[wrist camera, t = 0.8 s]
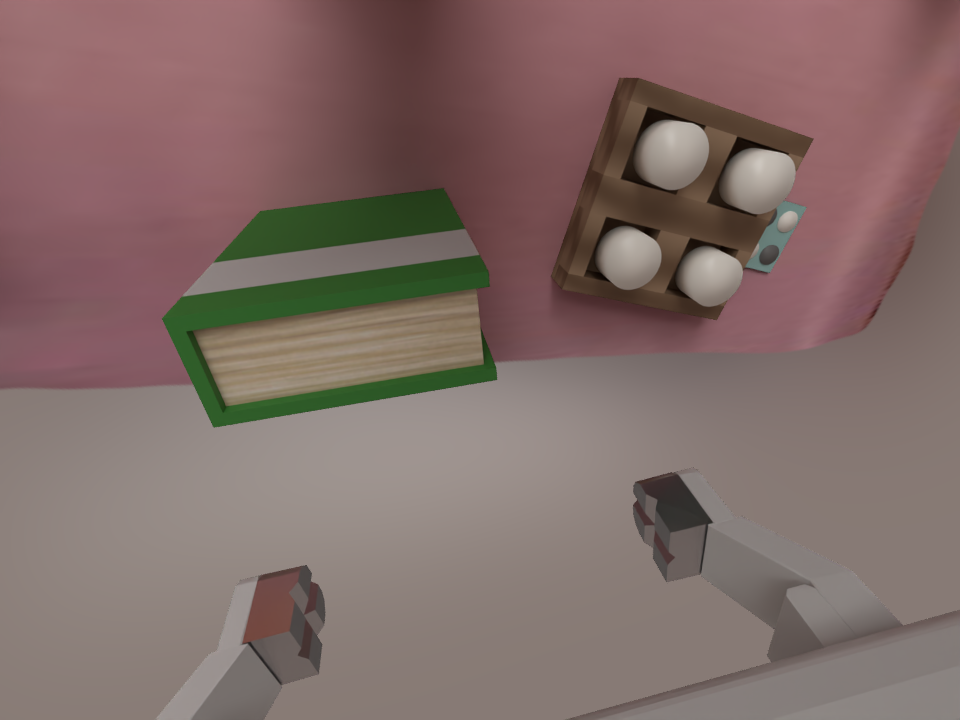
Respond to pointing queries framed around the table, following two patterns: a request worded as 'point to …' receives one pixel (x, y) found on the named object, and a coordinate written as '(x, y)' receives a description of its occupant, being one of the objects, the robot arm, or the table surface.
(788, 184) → the button
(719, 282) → the button
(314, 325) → the hardback book
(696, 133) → the button
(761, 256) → the card
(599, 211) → the wooden compartment tray
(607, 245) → the button
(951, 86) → the table surface
